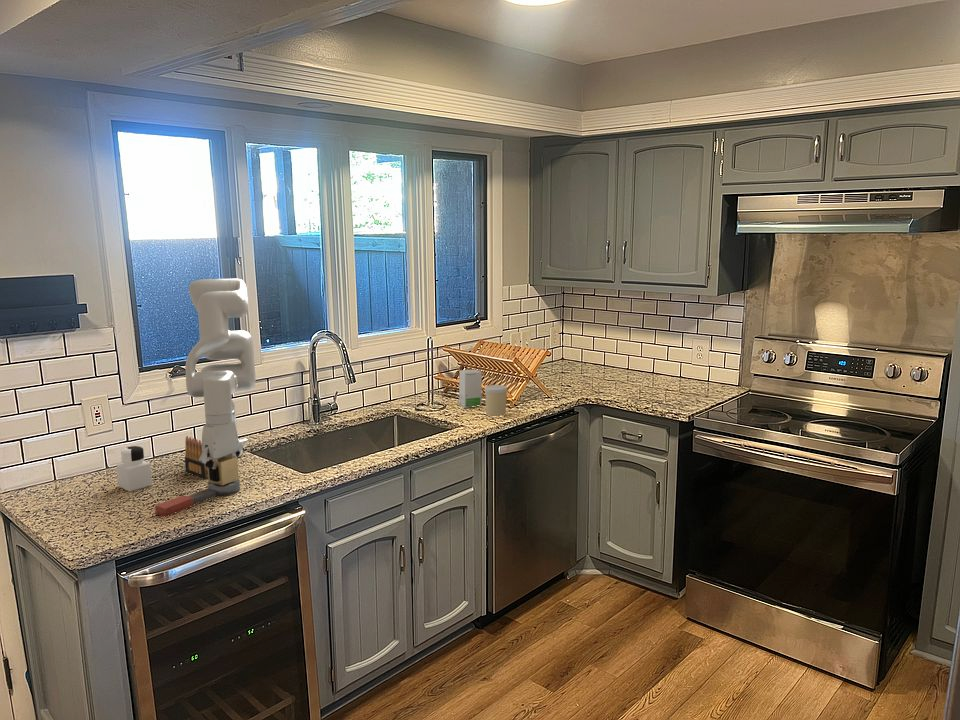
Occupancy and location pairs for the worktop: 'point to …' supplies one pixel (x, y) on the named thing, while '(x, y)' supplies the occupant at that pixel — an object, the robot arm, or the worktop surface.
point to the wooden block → (226, 470)
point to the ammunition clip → (194, 458)
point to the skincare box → (470, 388)
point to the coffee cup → (495, 399)
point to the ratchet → (196, 497)
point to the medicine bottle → (133, 469)
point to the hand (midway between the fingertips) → (223, 476)
